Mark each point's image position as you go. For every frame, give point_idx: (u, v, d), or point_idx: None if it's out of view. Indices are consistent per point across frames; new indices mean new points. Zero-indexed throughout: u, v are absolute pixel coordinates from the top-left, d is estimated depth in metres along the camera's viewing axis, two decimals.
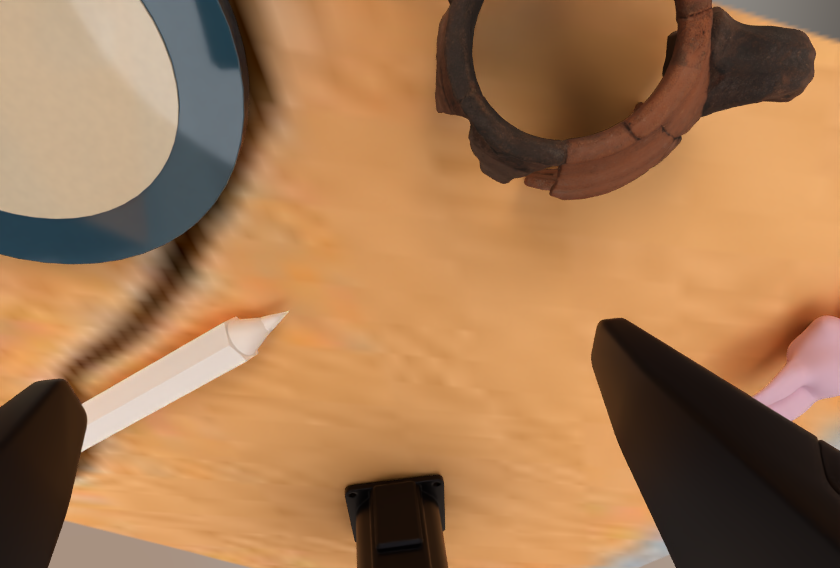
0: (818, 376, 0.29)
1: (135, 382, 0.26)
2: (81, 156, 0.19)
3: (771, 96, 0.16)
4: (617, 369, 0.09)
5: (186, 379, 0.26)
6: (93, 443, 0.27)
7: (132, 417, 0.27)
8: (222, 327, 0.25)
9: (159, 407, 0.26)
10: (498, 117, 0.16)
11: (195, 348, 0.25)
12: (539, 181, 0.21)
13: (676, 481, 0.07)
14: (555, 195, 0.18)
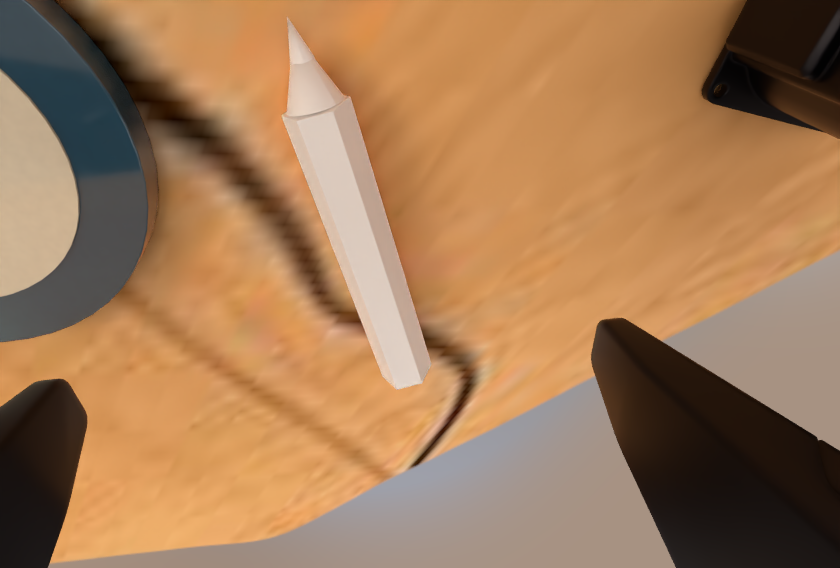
0: None
1: (339, 253, 0.21)
2: None
3: None
4: (617, 369, 0.09)
5: (339, 198, 0.19)
6: (402, 331, 0.23)
7: (379, 280, 0.21)
8: (285, 120, 0.18)
9: (375, 247, 0.21)
10: None
11: (306, 167, 0.19)
12: None
13: (676, 481, 0.07)
14: None
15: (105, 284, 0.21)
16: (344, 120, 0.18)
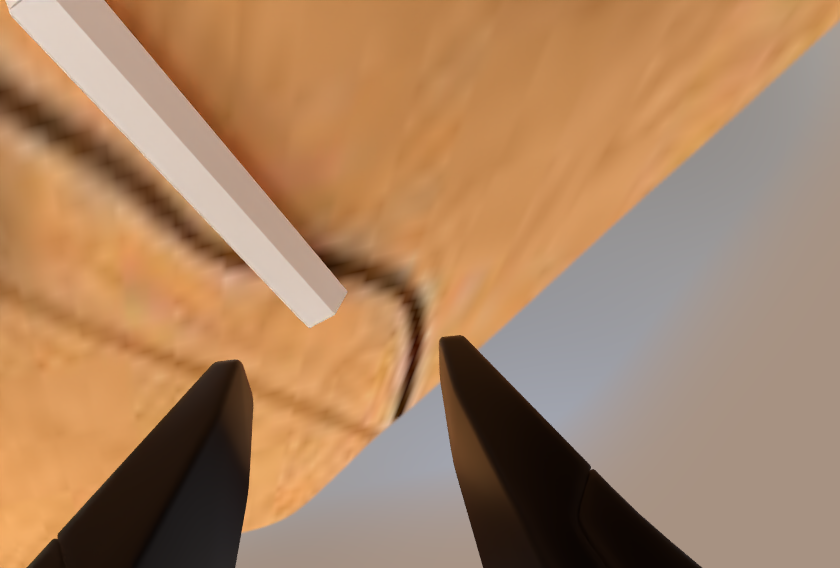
0: None
1: (164, 176, 0.18)
2: None
3: None
4: (447, 389, 0.08)
5: (114, 101, 0.16)
6: (279, 255, 0.19)
7: (218, 196, 0.18)
8: (15, 20, 0.15)
9: (190, 155, 0.17)
10: None
11: (67, 74, 0.16)
12: None
13: (480, 507, 0.07)
14: None
15: None
16: None
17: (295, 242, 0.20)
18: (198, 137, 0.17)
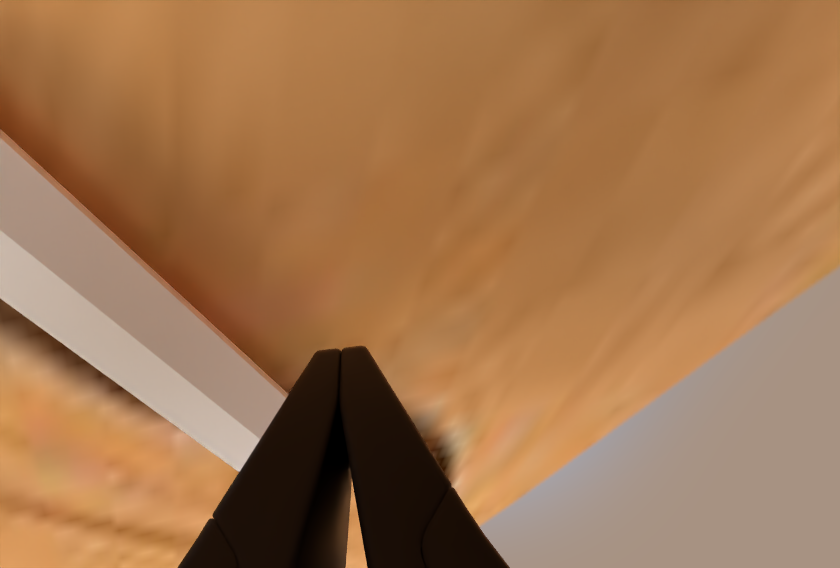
0: None
1: None
2: None
3: None
4: None
5: None
6: (247, 433, 0.13)
7: (148, 366, 0.11)
8: None
9: (98, 314, 0.10)
10: None
11: None
12: None
13: None
14: None
15: None
16: None
17: (273, 407, 0.14)
18: (113, 282, 0.11)
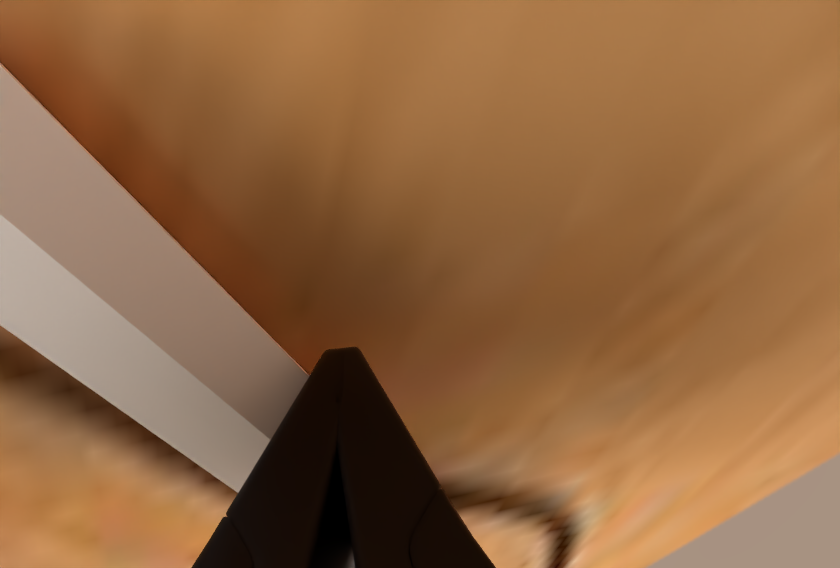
0: None
1: None
2: None
3: None
4: None
5: (79, 344, 0.07)
6: None
7: None
8: None
9: (243, 424, 0.08)
10: None
11: None
12: None
13: None
14: None
15: None
16: None
17: None
18: (259, 379, 0.08)
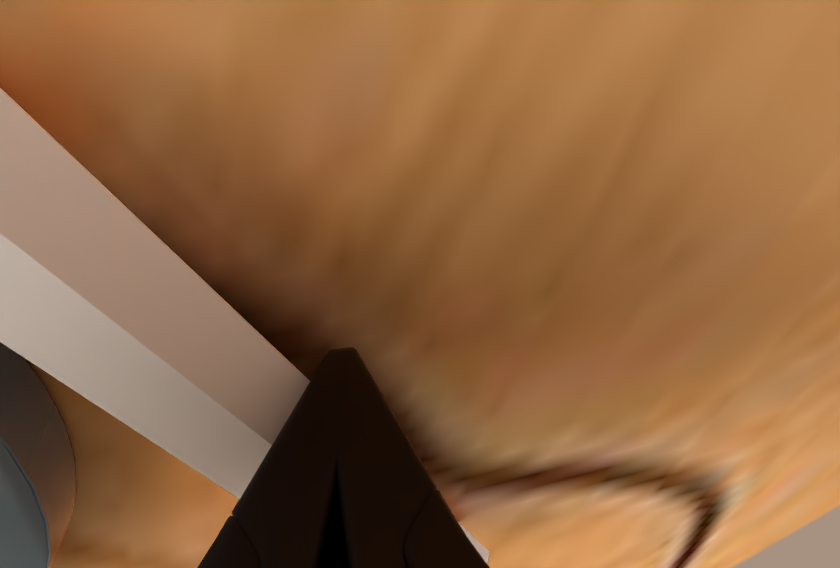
0: None
1: None
2: None
3: None
4: None
5: (92, 367, 0.07)
6: None
7: None
8: None
9: (255, 438, 0.08)
10: None
11: None
12: None
13: None
14: None
15: None
16: None
17: None
18: (269, 393, 0.08)
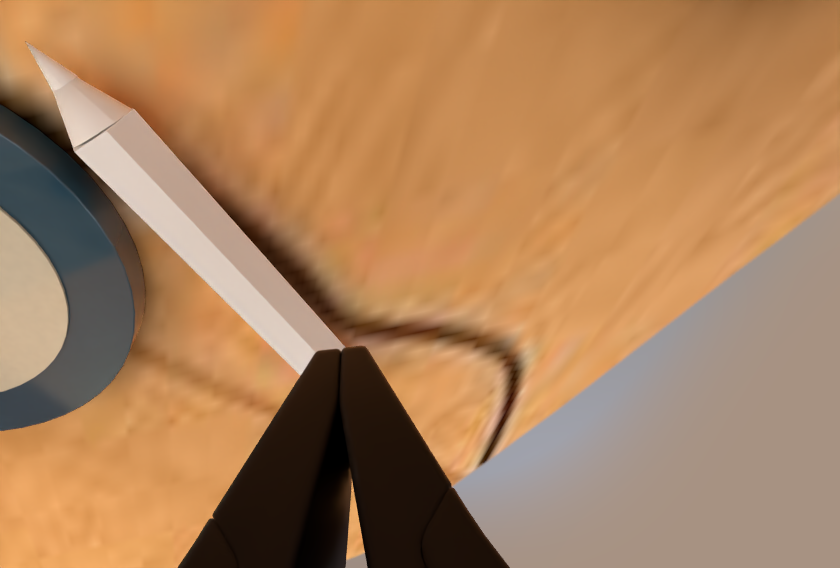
0: None
1: None
2: None
3: None
4: None
5: (163, 221, 0.17)
6: (304, 343, 0.21)
7: (251, 296, 0.19)
8: None
9: (228, 263, 0.18)
10: None
11: None
12: None
13: None
14: None
15: (113, 350, 0.21)
16: (130, 137, 0.16)
17: (318, 329, 0.22)
18: (235, 246, 0.19)
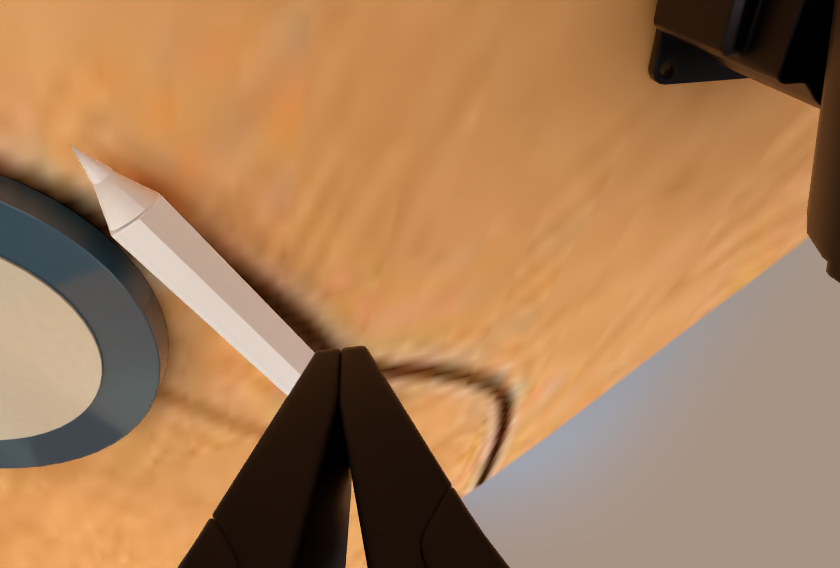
0: None
1: None
2: (12, 318, 0.20)
3: None
4: None
5: (187, 290, 0.20)
6: None
7: (264, 349, 0.22)
8: None
9: (244, 323, 0.21)
10: None
11: None
12: None
13: None
14: None
15: (141, 396, 0.23)
16: (159, 221, 0.18)
17: None
18: (250, 306, 0.21)
